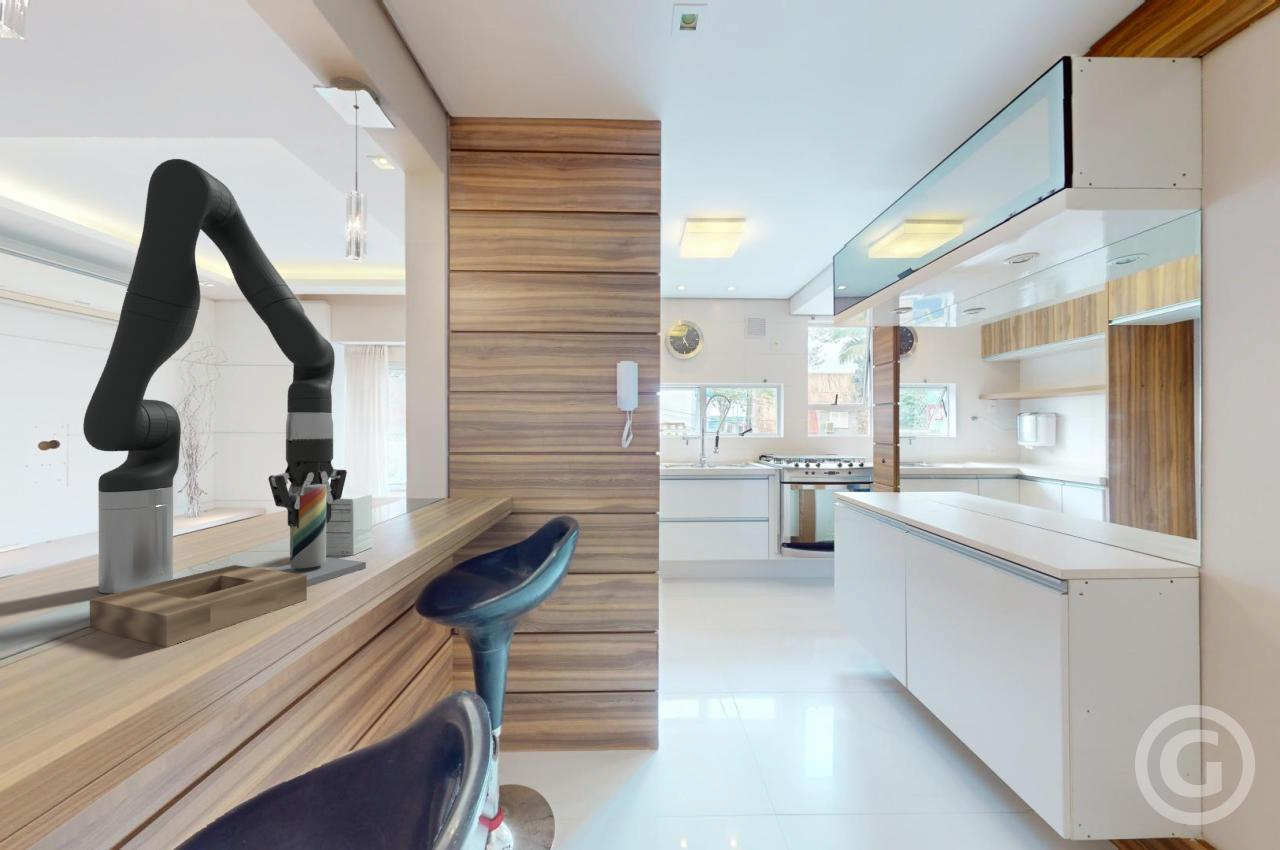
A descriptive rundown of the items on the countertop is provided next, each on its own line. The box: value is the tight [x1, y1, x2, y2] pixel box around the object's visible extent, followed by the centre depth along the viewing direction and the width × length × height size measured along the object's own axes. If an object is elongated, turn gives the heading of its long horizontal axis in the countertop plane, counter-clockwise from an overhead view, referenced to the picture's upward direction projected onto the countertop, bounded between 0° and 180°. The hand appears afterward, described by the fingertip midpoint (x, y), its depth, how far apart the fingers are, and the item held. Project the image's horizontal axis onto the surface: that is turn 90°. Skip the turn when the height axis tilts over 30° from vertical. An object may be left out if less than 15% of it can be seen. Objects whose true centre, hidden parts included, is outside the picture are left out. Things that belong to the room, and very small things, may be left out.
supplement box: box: [326, 493, 373, 556], centre depth 110 cm, size 7×7×13 cm
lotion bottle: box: [289, 462, 327, 569], centre depth 92 cm, size 6×6×20 cm
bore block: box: [89, 564, 308, 648], centre depth 73 cm, size 18×18×4 cm
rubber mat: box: [268, 556, 367, 587], centre depth 93 cm, size 13×13×1 cm
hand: (310, 525), depth 93 cm, fingers closed on lotion bottle, 4 cm apart
